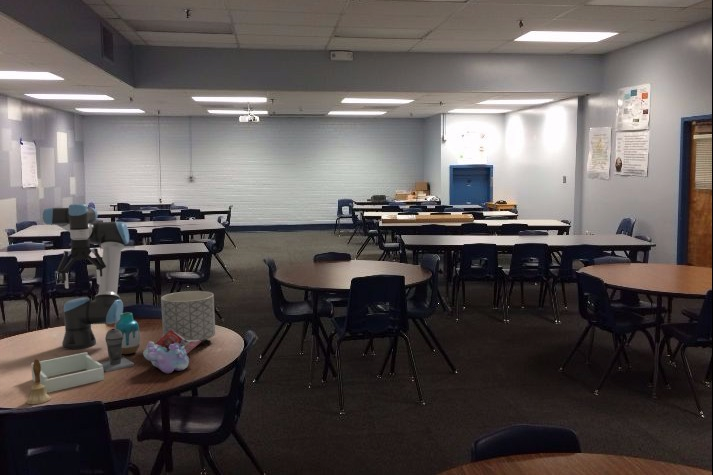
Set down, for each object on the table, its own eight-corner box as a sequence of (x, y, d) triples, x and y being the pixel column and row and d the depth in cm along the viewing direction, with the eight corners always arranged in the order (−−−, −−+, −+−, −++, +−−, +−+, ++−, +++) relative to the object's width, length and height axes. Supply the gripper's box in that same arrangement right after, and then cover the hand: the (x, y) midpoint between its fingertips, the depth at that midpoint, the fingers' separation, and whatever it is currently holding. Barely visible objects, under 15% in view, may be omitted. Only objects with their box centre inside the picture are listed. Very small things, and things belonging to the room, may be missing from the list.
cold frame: (32, 379, 248) (31, 363, 248) (87, 367, 263) (86, 352, 262) (45, 393, 233) (44, 375, 232) (104, 379, 247) (103, 363, 246)
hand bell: (44, 394, 231) (41, 354, 229) (55, 399, 226) (52, 358, 224) (22, 401, 224) (18, 360, 222) (33, 406, 219) (30, 364, 218)
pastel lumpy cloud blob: (135, 367, 247) (157, 330, 247) (141, 350, 268) (161, 316, 268) (180, 387, 253) (201, 351, 253) (182, 369, 274) (202, 335, 274)
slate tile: (96, 365, 266) (96, 363, 266) (124, 359, 274) (124, 357, 273) (106, 371, 257) (106, 369, 257) (134, 365, 265) (133, 363, 264)
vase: (132, 357, 277) (130, 316, 274) (111, 356, 279) (109, 316, 277) (145, 350, 287) (142, 311, 285) (125, 349, 289) (122, 310, 287)
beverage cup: (109, 360, 268) (107, 317, 266) (126, 360, 269) (124, 316, 267) (104, 366, 261) (101, 321, 259) (121, 365, 262) (119, 320, 259)
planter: (187, 334, 315) (185, 289, 313) (225, 339, 304) (223, 293, 302) (152, 346, 293) (149, 298, 290) (192, 352, 282) (190, 303, 279)
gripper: (51, 242, 255) (55, 291, 257) (111, 237, 271) (114, 283, 273) (47, 240, 260) (50, 288, 263) (105, 235, 277) (108, 281, 279)
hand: (83, 286), depth 268 cm, fingers open, 13 cm apart
